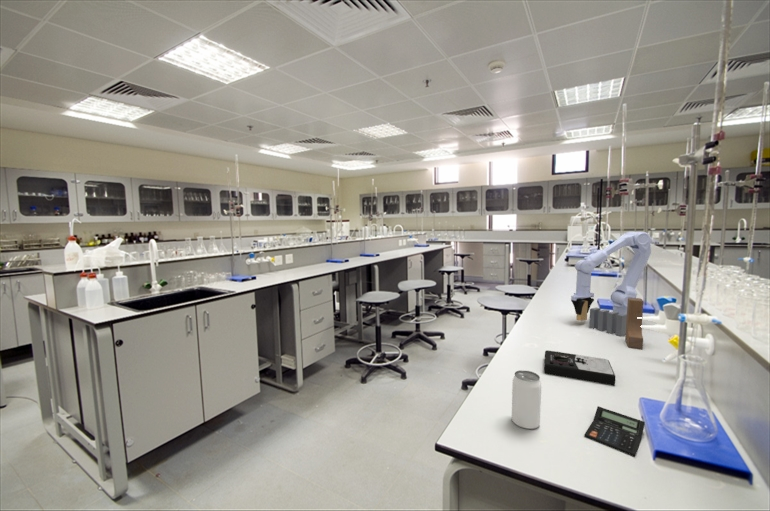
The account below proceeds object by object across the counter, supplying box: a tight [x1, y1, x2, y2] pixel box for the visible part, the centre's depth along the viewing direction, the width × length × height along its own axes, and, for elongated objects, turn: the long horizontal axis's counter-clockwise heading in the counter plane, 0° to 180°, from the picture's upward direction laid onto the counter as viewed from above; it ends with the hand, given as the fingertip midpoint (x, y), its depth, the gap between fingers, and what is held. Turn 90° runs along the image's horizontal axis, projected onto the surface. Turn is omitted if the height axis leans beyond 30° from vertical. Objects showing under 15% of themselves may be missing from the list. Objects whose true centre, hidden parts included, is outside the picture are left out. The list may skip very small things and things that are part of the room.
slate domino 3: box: [606, 310, 619, 335], centre depth 144 cm, size 5×2×9 cm, turn 118°
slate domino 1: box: [588, 307, 602, 330], centre depth 151 cm, size 5×2×9 cm, turn 118°
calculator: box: [583, 405, 646, 458], centre depth 76 cm, size 9×12×3 cm
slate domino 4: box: [615, 313, 627, 338], centre depth 141 cm, size 5×2×9 cm, turn 118°
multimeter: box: [543, 350, 616, 387], centre depth 108 cm, size 13×19×5 cm
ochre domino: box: [576, 300, 588, 322], centre depth 156 cm, size 5×2×9 cm, turn 117°
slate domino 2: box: [597, 309, 611, 332], centre depth 147 cm, size 5×2×9 cm, turn 118°
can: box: [511, 369, 542, 430], centre depth 80 cm, size 6×6×12 cm
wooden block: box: [624, 297, 644, 350], centre depth 129 cm, size 9×4×18 cm, turn 150°
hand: (581, 313), depth 156 cm, fingers closed on ochre domino, 5 cm apart
